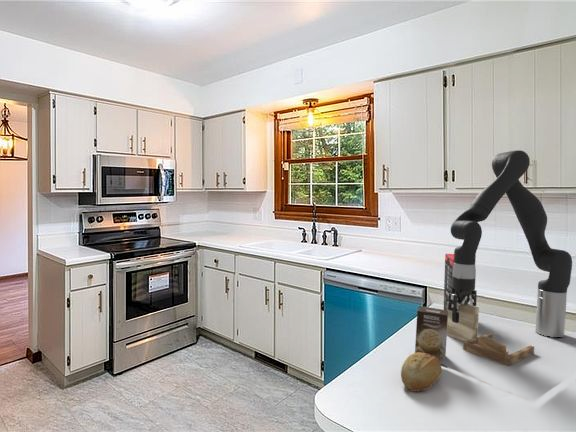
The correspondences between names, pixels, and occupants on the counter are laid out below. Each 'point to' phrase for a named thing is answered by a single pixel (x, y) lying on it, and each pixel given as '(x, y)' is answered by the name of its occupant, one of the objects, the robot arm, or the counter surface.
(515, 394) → the counter surface
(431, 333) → the coffee box
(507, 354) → the slat middle
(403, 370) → the bread roll
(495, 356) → the rack
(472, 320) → the tall beige block
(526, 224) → the robot arm
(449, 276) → the graphics card box
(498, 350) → the slat top
